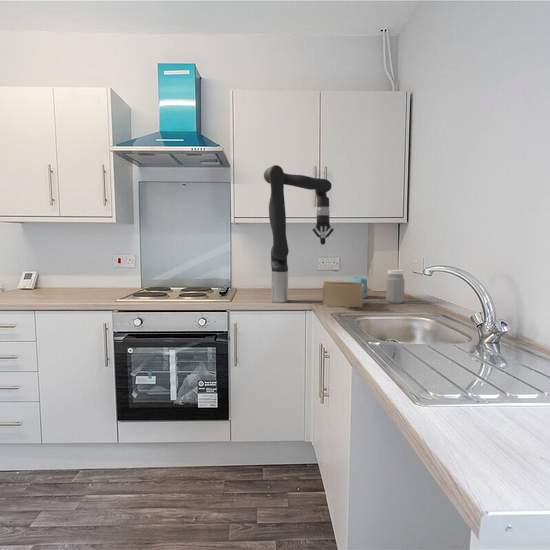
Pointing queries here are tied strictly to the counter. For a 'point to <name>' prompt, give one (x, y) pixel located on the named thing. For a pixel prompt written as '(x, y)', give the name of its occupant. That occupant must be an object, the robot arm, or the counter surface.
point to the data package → (362, 280)
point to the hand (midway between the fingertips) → (322, 244)
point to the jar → (395, 286)
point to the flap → (342, 283)
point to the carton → (343, 295)
